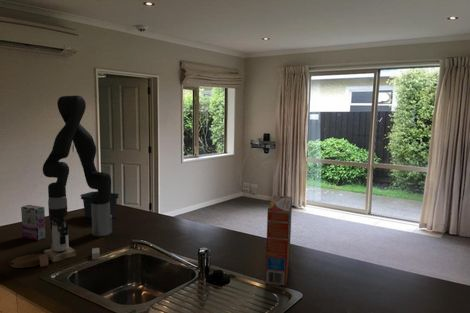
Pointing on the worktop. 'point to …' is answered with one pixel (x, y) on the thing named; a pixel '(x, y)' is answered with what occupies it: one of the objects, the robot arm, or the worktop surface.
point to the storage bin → (87, 203)
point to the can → (58, 240)
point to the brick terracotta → (43, 260)
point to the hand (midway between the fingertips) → (59, 241)
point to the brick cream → (95, 253)
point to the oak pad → (60, 254)
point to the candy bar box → (33, 222)
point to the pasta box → (278, 240)
